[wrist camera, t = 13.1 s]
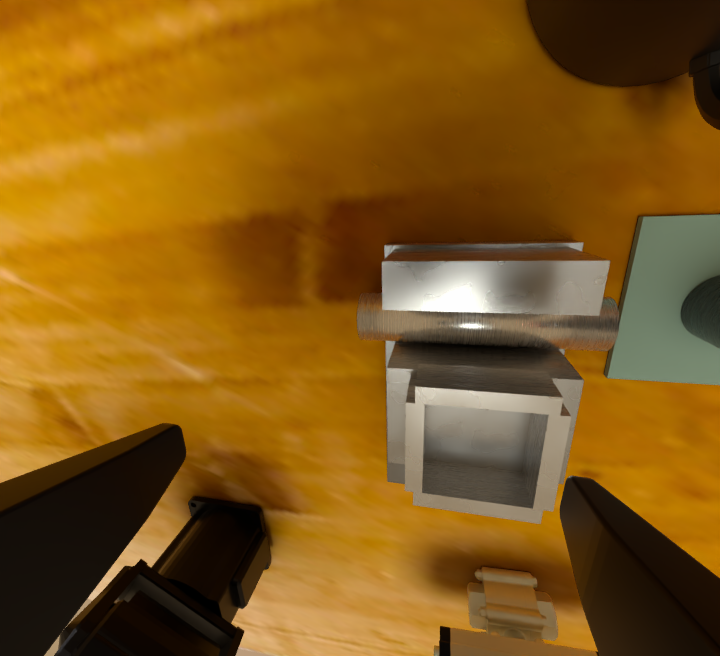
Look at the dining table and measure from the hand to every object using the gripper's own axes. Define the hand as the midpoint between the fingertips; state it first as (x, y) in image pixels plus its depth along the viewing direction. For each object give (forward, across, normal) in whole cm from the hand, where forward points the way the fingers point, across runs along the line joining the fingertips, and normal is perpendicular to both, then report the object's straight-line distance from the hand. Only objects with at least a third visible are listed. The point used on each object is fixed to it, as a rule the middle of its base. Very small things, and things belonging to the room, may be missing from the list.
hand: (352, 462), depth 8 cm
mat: (+12, -15, -1) cm, 19 cm away
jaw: (+11, -4, +3) cm, 12 cm away
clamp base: (+13, -4, +4) cm, 14 cm away
